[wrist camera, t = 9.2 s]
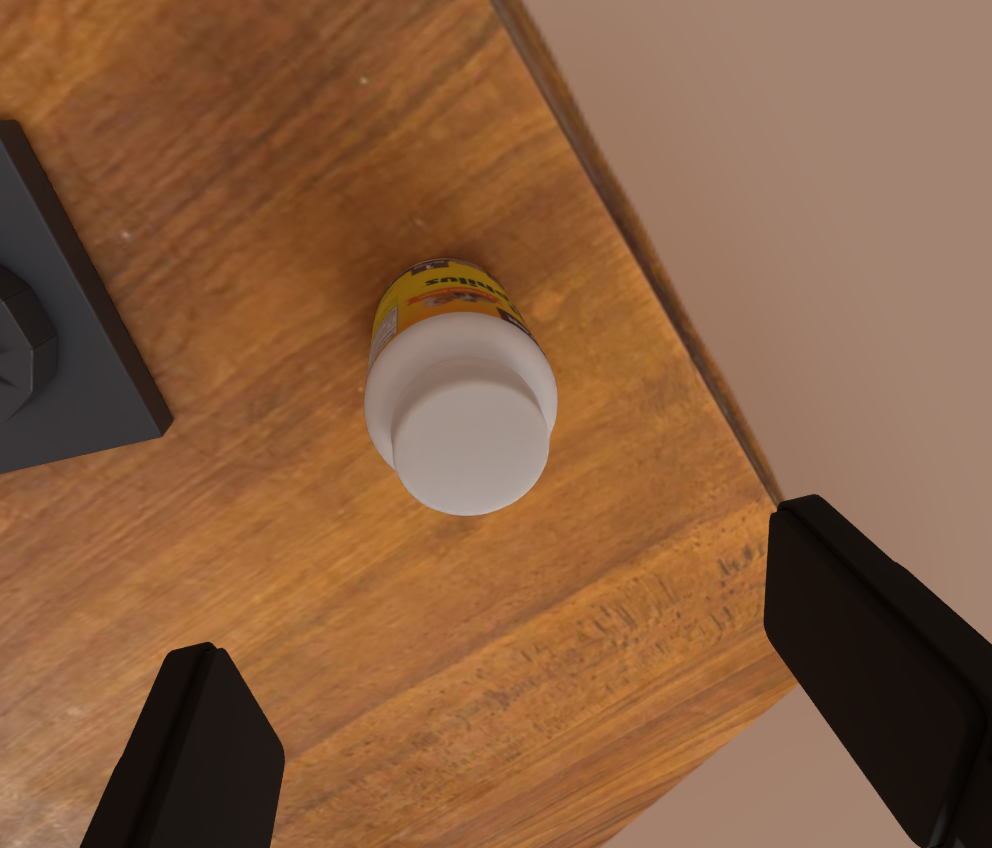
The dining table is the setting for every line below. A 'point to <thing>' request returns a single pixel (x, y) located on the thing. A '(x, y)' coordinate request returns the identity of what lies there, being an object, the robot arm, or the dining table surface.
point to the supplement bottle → (458, 389)
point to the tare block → (60, 333)
